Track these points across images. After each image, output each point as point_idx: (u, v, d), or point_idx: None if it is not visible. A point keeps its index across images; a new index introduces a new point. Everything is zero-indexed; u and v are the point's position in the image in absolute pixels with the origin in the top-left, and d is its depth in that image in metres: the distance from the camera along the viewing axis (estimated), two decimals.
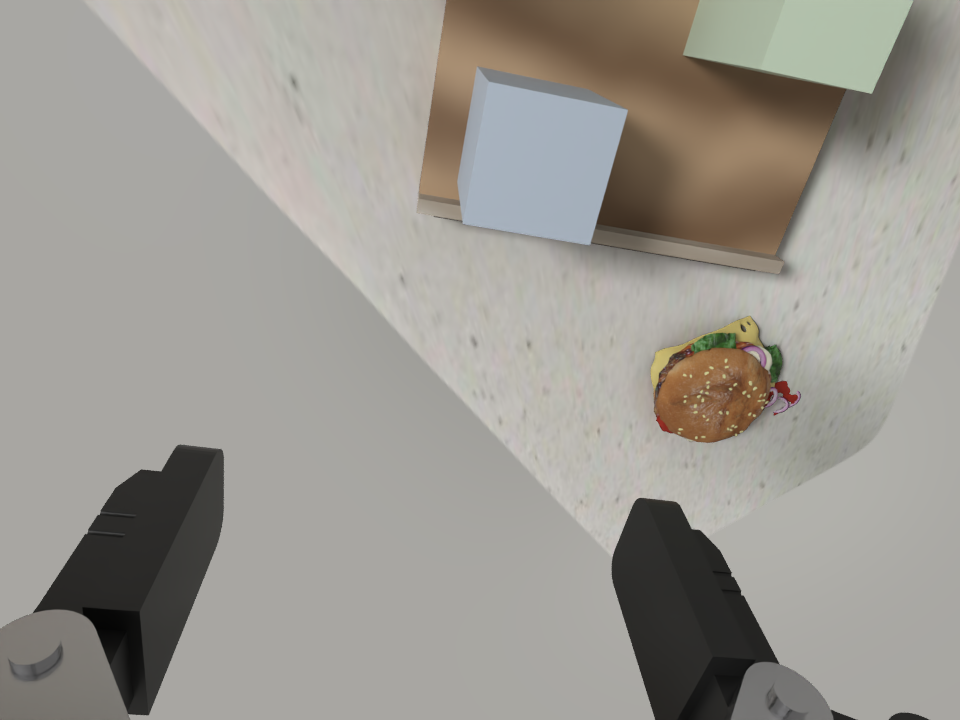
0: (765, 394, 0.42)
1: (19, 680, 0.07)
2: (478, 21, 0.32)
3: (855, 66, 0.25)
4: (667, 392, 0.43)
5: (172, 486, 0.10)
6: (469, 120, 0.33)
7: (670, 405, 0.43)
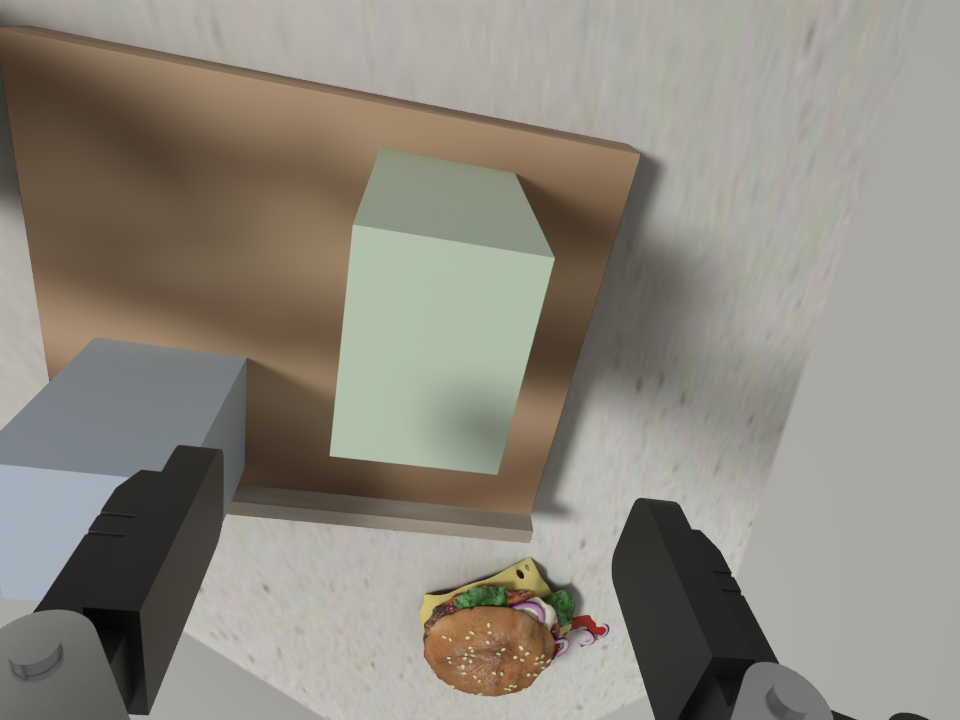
0: (543, 655, 0.36)
1: (19, 680, 0.07)
2: (81, 291, 0.25)
3: (464, 448, 0.19)
4: (431, 649, 0.36)
5: (172, 486, 0.10)
6: None
7: (436, 663, 0.36)
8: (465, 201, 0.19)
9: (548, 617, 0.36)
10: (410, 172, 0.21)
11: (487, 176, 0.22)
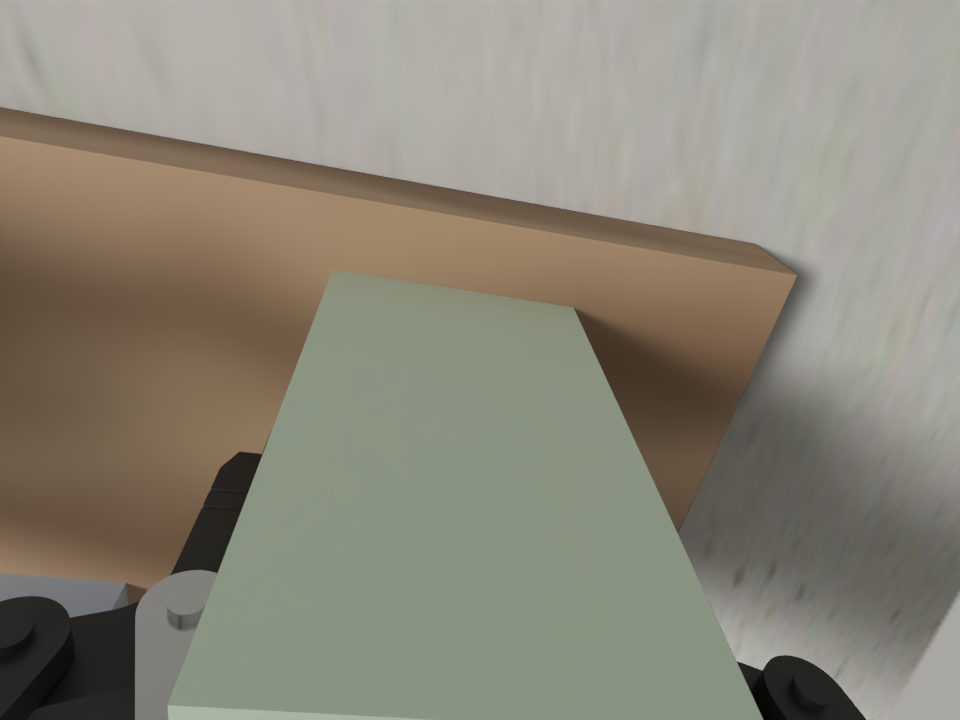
0: None
1: (179, 629, 0.08)
2: None
3: None
4: None
5: None
6: None
7: None
8: (497, 445, 0.09)
9: None
10: (383, 343, 0.10)
11: (529, 328, 0.12)
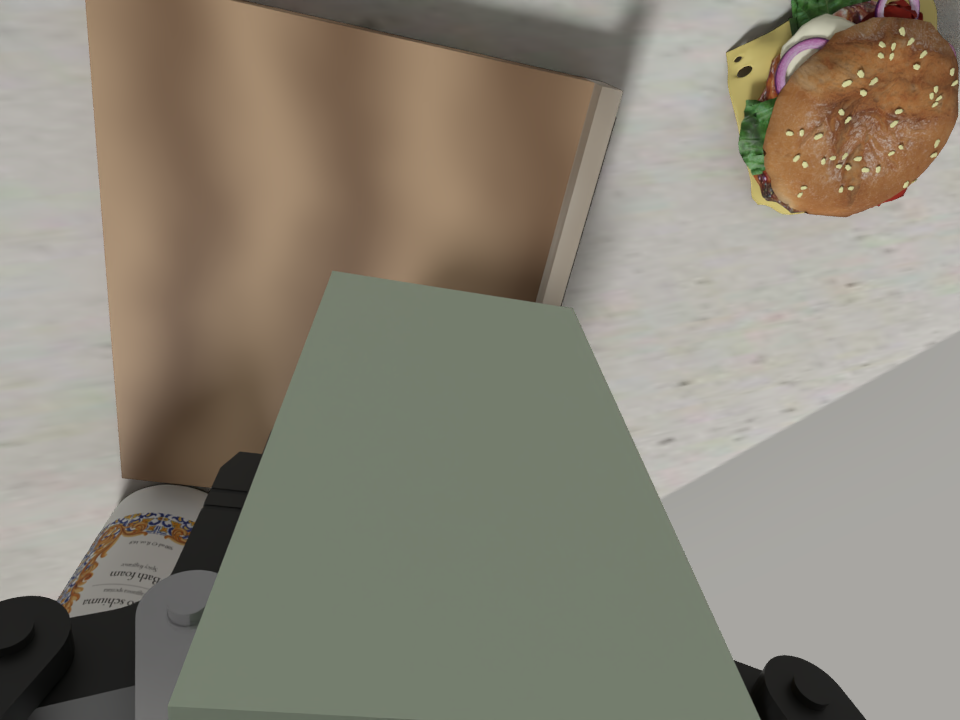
0: (882, 42, 0.23)
1: (179, 629, 0.08)
2: None
3: None
4: (827, 209, 0.27)
5: None
6: None
7: (852, 205, 0.26)
8: (496, 446, 0.09)
9: (821, 30, 0.23)
10: (382, 344, 0.10)
11: (528, 329, 0.12)
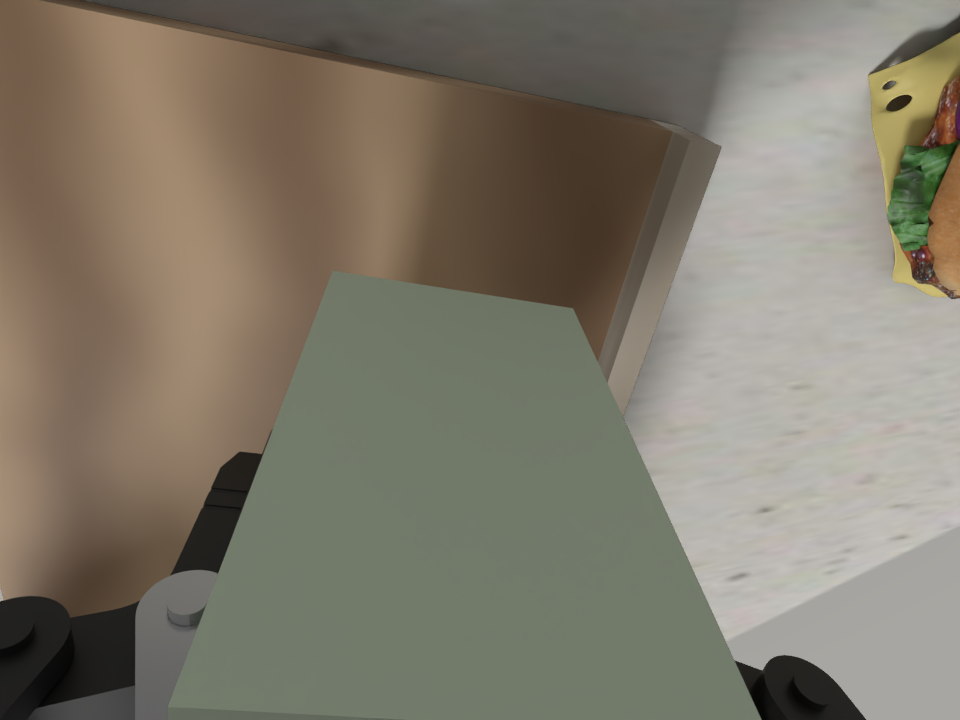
0: None
1: (179, 629, 0.08)
2: None
3: None
4: None
5: None
6: None
7: None
8: (497, 446, 0.09)
9: None
10: (383, 344, 0.10)
11: (529, 329, 0.12)
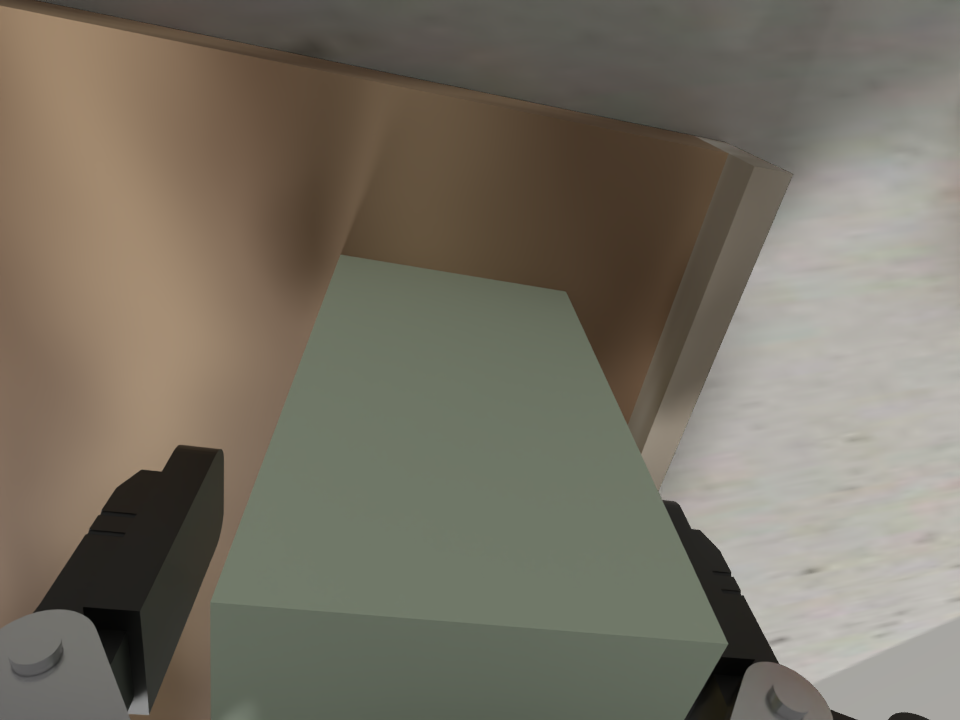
0: None
1: (20, 680, 0.07)
2: None
3: None
4: None
5: (172, 486, 0.10)
6: None
7: None
8: (493, 407, 0.09)
9: None
10: (388, 319, 0.11)
11: (524, 309, 0.13)
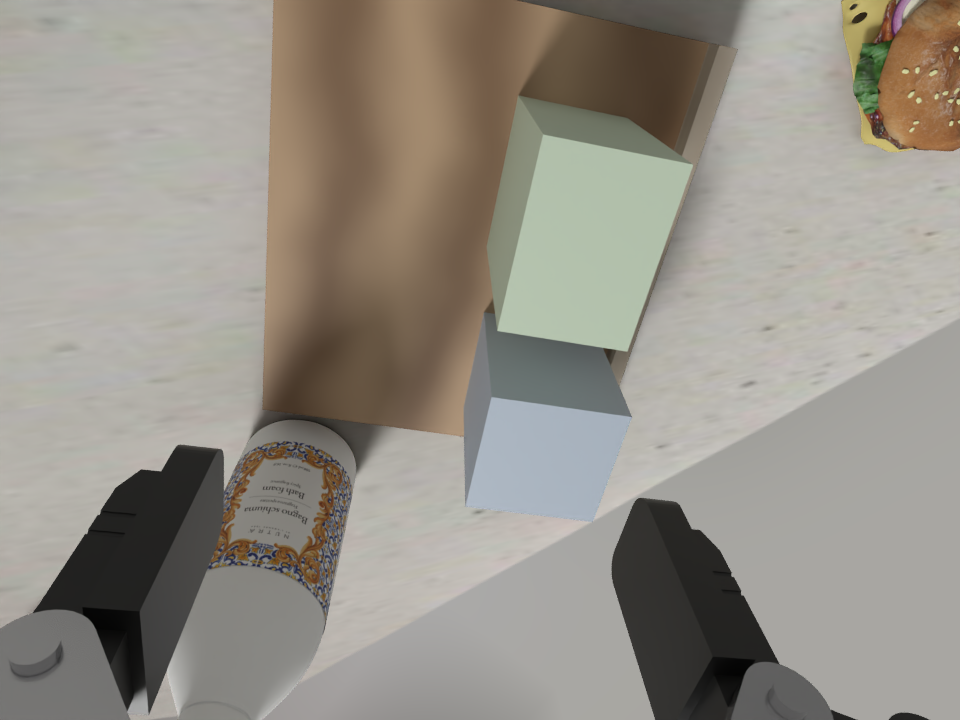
0: None
1: (19, 680, 0.07)
2: (427, 406, 0.36)
3: (603, 327, 0.23)
4: (935, 143, 0.29)
5: (172, 486, 0.10)
6: None
7: None
8: (606, 130, 0.23)
9: None
10: (553, 110, 0.25)
11: (609, 118, 0.27)
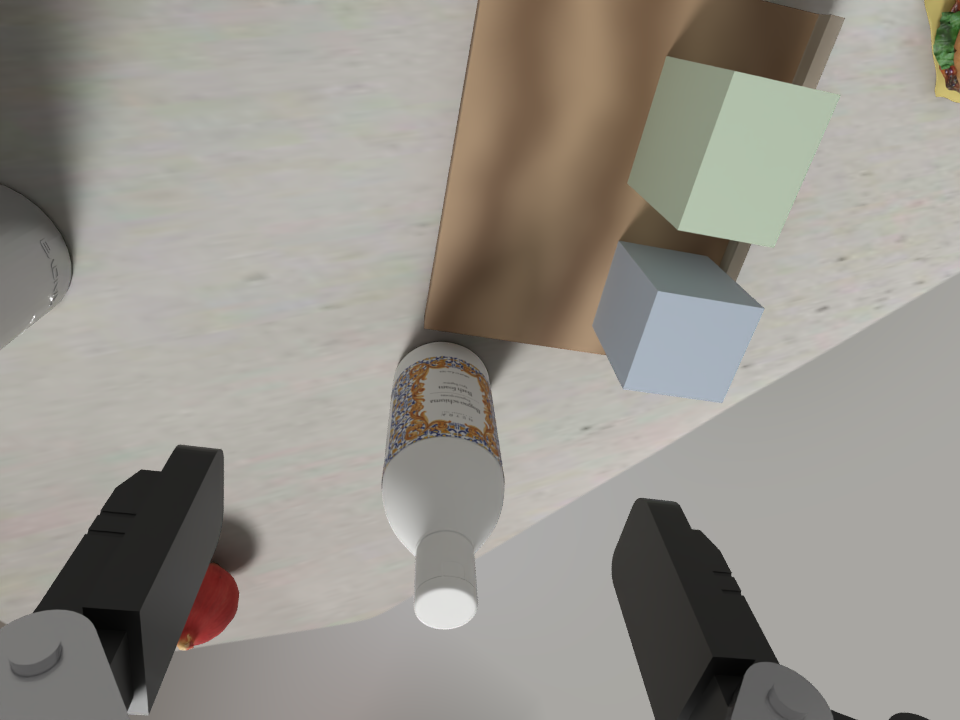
0: None
1: (19, 680, 0.07)
2: (561, 325, 0.42)
3: (758, 227, 0.30)
4: None
5: (172, 486, 0.10)
6: None
7: None
8: None
9: None
10: None
11: None
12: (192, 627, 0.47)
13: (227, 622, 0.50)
